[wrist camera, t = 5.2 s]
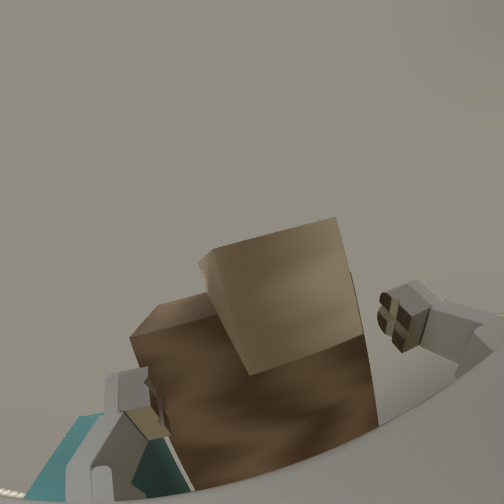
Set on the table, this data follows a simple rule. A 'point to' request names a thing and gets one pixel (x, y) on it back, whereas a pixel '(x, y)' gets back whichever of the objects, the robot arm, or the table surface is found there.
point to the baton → (283, 294)
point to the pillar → (249, 396)
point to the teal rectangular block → (145, 478)
